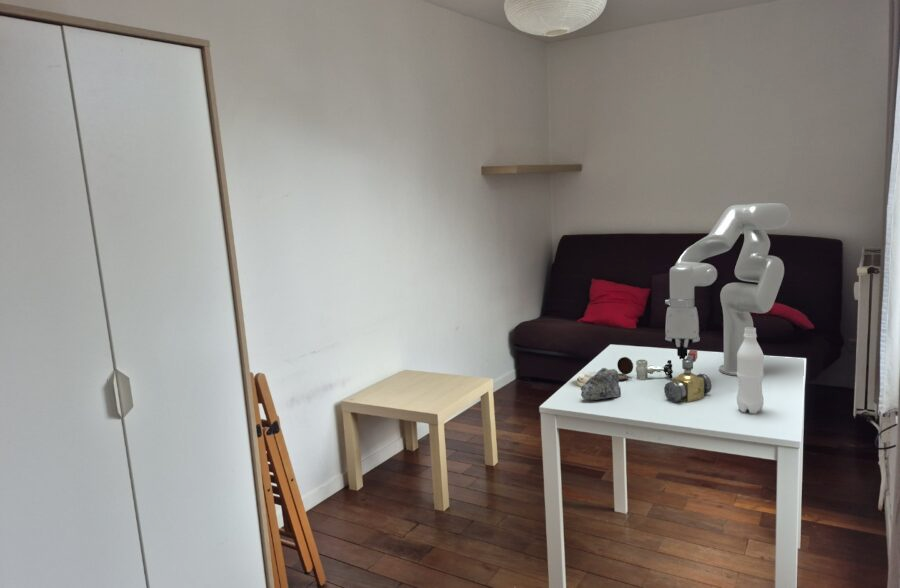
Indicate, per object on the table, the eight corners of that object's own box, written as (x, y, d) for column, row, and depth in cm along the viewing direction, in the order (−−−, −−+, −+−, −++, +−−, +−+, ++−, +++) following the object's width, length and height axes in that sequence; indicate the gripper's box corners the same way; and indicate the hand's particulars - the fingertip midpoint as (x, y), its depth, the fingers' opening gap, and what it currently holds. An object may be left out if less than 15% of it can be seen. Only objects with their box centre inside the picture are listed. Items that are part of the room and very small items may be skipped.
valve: (637, 381, 230) (672, 381, 227) (636, 363, 229) (672, 362, 226) (635, 376, 236) (670, 375, 234) (634, 358, 235) (669, 357, 233)
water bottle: (736, 405, 199) (736, 325, 195) (762, 407, 197) (763, 325, 193) (737, 414, 193) (736, 331, 189) (764, 415, 190) (764, 331, 186)
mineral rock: (581, 403, 212) (579, 373, 210) (580, 392, 222) (579, 364, 221) (622, 402, 210) (621, 372, 208) (619, 392, 220) (619, 363, 218)
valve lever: (692, 369, 206) (692, 361, 206) (681, 369, 208) (681, 361, 207) (698, 357, 219) (698, 350, 218) (688, 357, 220) (688, 349, 220)
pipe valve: (694, 390, 216) (693, 362, 215) (713, 396, 209) (713, 367, 208) (662, 398, 210) (661, 370, 209) (681, 405, 203) (681, 376, 202)
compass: (606, 380, 234) (606, 360, 233) (619, 374, 239) (619, 355, 238) (626, 384, 228) (625, 363, 227) (639, 378, 233) (638, 358, 232)
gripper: (656, 305, 214) (657, 359, 217) (705, 306, 207) (705, 362, 210) (659, 301, 220) (660, 354, 223) (707, 301, 214) (707, 356, 217)
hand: (682, 358), depth 217 cm, fingers closed
